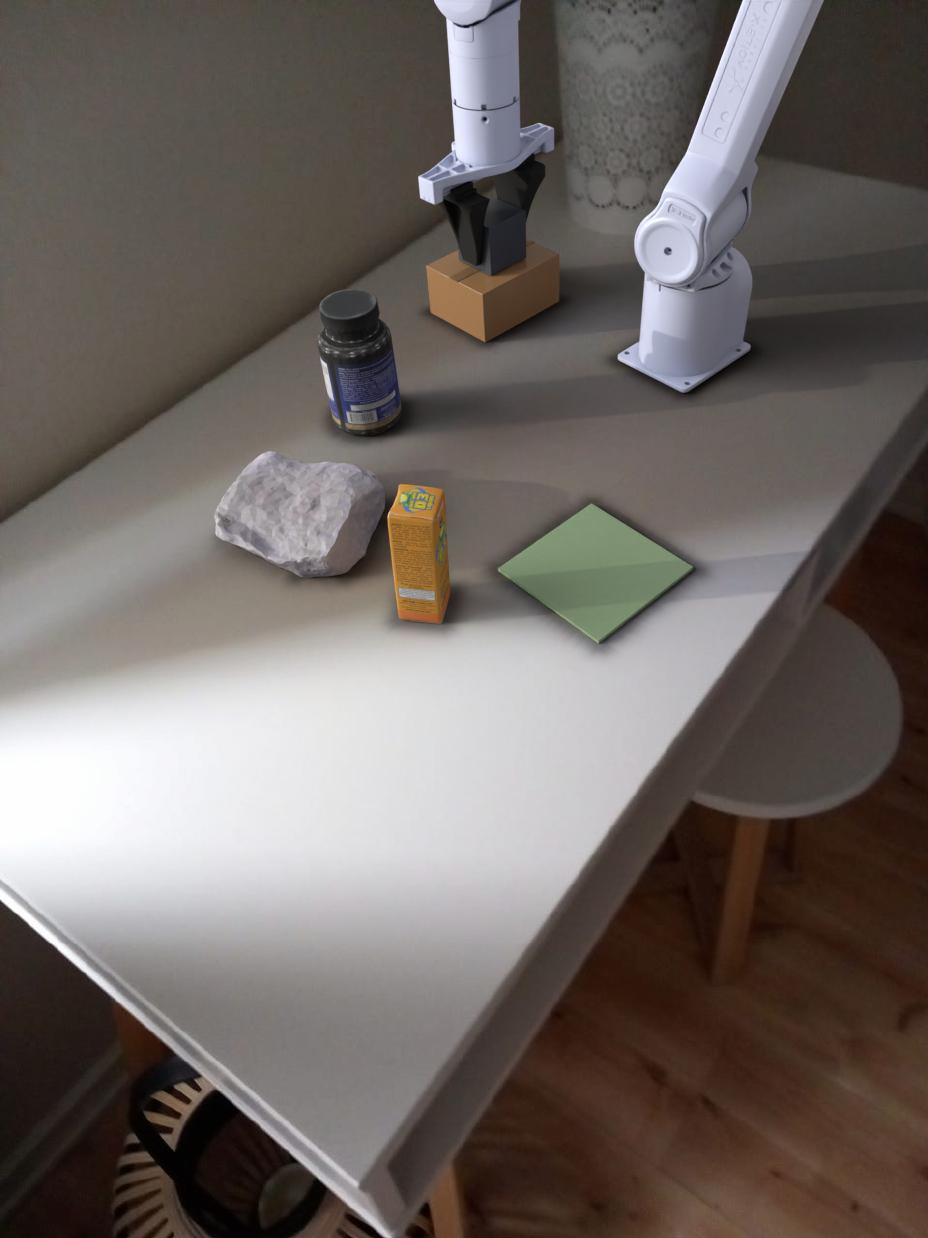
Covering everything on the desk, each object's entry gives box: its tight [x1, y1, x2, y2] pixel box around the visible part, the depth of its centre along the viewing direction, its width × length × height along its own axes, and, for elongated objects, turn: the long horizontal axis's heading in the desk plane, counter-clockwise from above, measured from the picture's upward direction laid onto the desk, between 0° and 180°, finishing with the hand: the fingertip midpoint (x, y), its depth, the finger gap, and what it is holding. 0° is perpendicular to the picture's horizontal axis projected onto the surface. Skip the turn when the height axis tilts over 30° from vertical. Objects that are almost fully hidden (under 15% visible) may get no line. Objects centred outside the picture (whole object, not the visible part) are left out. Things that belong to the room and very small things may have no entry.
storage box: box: [425, 237, 560, 343], centre depth 94 cm, size 10×8×5 cm
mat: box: [497, 502, 694, 644], centre depth 71 cm, size 10×10×1 cm
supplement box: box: [387, 483, 451, 624], centre depth 66 cm, size 3×3×10 cm
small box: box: [457, 195, 527, 276], centre depth 91 cm, size 5×5×5 cm
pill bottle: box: [316, 288, 402, 437], centre depth 81 cm, size 6×6×11 cm
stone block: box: [213, 450, 386, 579], centre depth 75 cm, size 12×5×10 cm
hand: (492, 251), depth 92 cm, fingers closed on small box, 4 cm apart
